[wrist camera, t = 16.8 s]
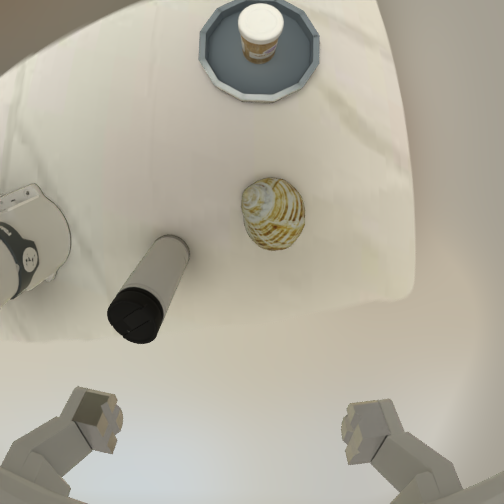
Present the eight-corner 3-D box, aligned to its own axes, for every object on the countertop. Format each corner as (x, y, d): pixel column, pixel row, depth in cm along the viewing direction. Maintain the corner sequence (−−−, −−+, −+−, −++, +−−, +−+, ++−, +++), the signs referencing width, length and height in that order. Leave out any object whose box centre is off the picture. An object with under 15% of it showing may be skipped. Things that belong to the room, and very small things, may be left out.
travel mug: (199, 256, 50) (171, 333, 32) (169, 277, 52) (131, 356, 33) (174, 225, 48) (130, 290, 30) (145, 248, 50) (93, 317, 31)
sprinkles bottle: (263, 70, 38) (267, 48, 26) (235, 53, 37) (228, 26, 25) (281, 46, 37) (293, 16, 24) (254, 29, 36) (254, -6, 23)
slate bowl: (202, 102, 41) (197, 100, 37) (206, 6, 35) (202, -4, 31) (312, 105, 41) (318, 104, 37) (314, 9, 35) (319, 0, 31)
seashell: (276, 261, 50) (253, 270, 40) (239, 215, 51) (208, 213, 42) (325, 218, 46) (313, 216, 37) (284, 171, 48) (262, 159, 39)
